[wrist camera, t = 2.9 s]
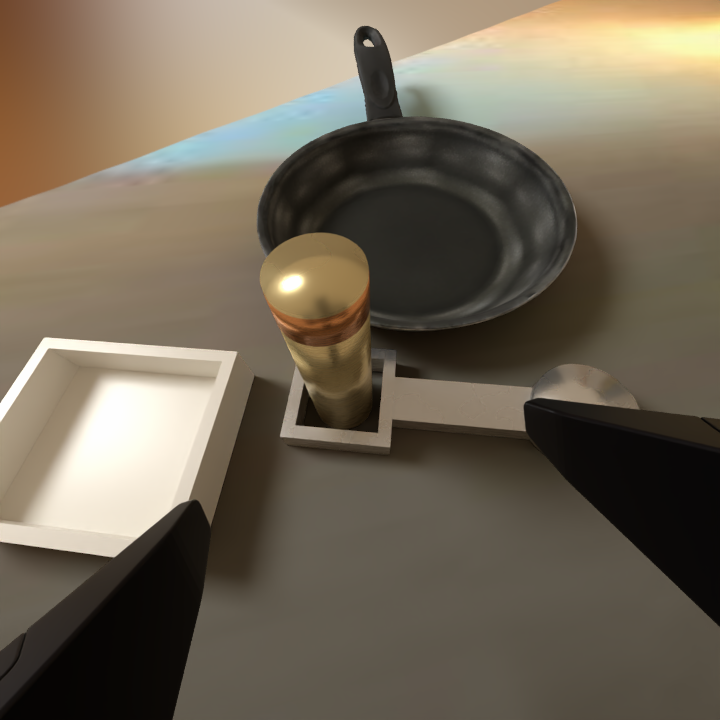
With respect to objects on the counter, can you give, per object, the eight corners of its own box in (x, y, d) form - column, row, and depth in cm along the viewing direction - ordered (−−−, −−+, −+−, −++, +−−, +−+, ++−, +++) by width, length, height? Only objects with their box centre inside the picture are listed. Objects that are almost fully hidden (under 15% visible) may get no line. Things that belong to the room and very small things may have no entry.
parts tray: (254, 375, 25) (237, 351, 22) (200, 561, 19) (167, 564, 16) (83, 361, 26) (44, 337, 23) (-16, 532, 20) (-84, 529, 17)
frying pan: (597, 348, 25) (666, 287, 19) (265, 378, 25) (230, 327, 19) (463, 80, 46) (475, 12, 40) (283, 96, 46) (269, 31, 40)
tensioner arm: (602, 378, 24) (625, 362, 21) (628, 479, 20) (658, 471, 18) (306, 356, 25) (299, 339, 23) (287, 445, 22) (277, 434, 20)
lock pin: (375, 378, 24) (373, 234, 13) (369, 432, 22) (363, 318, 11) (321, 374, 25) (273, 230, 13) (311, 427, 23) (246, 311, 11)
